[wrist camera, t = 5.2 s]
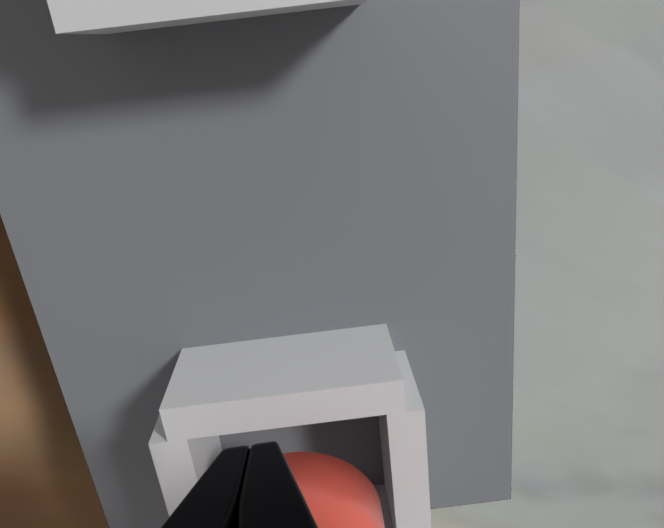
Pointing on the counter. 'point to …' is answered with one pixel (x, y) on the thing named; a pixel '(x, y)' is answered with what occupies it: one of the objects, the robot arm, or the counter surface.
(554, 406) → the counter surface
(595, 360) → the counter surface
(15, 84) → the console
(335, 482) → the red plunger
